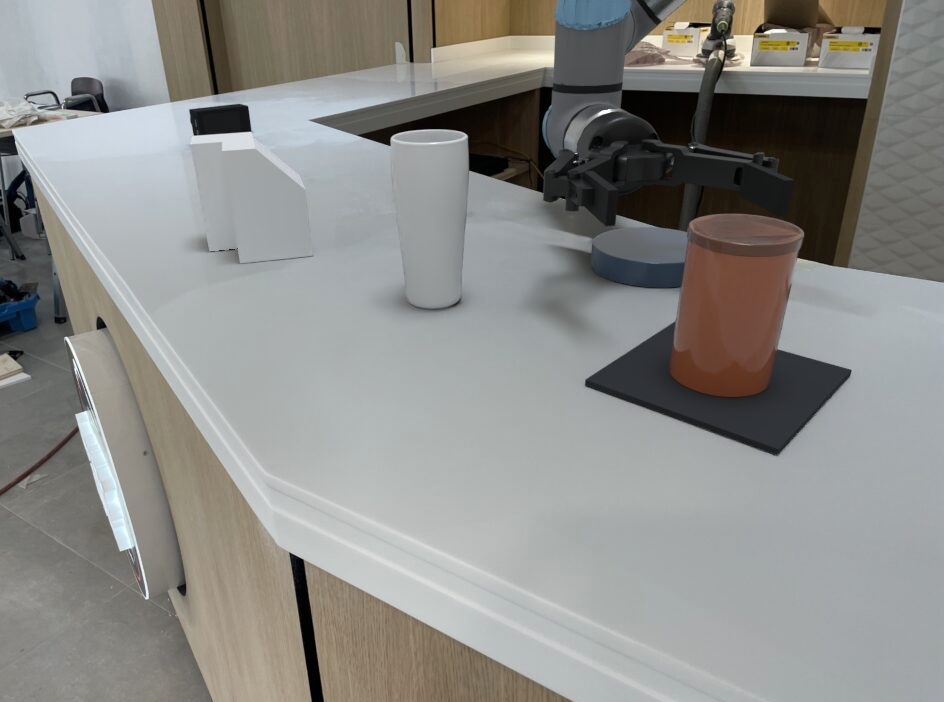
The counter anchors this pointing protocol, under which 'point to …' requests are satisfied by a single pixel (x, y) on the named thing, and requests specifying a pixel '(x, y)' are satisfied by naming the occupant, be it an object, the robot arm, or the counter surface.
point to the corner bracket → (250, 199)
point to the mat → (740, 418)
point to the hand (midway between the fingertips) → (700, 203)
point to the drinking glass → (431, 212)
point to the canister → (733, 302)
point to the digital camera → (220, 119)
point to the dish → (640, 256)
